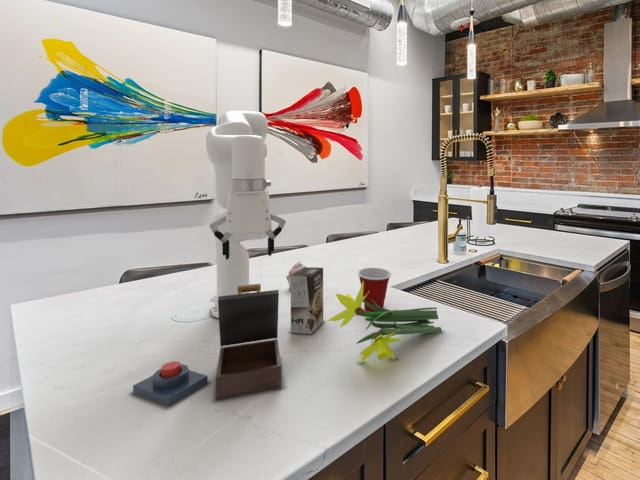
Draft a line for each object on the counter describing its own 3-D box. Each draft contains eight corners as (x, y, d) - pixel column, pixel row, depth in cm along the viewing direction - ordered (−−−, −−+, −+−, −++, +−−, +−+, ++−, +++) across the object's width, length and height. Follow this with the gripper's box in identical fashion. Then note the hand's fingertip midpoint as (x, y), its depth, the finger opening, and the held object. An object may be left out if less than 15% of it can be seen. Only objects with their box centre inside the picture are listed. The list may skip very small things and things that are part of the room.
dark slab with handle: (278, 293, 92) (277, 276, 96) (217, 300, 87) (219, 282, 92) (277, 338, 98) (276, 320, 102) (220, 346, 93) (221, 327, 98)
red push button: (157, 375, 85) (157, 367, 85) (173, 367, 88) (173, 359, 88) (168, 379, 83) (168, 371, 83) (184, 371, 86) (184, 363, 86)
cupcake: (308, 293, 145) (308, 265, 145) (282, 293, 145) (282, 265, 145) (314, 284, 154) (314, 258, 154) (290, 284, 155) (290, 258, 154)
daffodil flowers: (464, 344, 107) (370, 355, 82) (423, 360, 114) (324, 374, 89) (445, 282, 116) (355, 275, 91) (408, 300, 123) (314, 297, 98)
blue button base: (132, 393, 84) (132, 376, 84) (173, 372, 92) (173, 357, 92) (168, 407, 79) (168, 389, 79) (207, 383, 87) (207, 367, 87)
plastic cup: (378, 318, 122) (378, 278, 122) (350, 311, 128) (350, 273, 128) (398, 307, 131) (398, 270, 131) (371, 300, 137) (370, 265, 137)
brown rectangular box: (281, 388, 85) (281, 365, 85) (215, 401, 81) (215, 377, 81) (277, 358, 98) (277, 338, 98) (220, 368, 94) (220, 347, 94)
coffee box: (311, 334, 111) (311, 276, 111) (289, 332, 112) (289, 274, 112) (324, 321, 120) (324, 267, 120) (304, 319, 121) (303, 266, 121)
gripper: (284, 184, 105) (284, 249, 105) (210, 185, 99) (211, 255, 99) (286, 186, 98) (286, 257, 98) (207, 188, 92) (208, 263, 92)
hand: (248, 256), depth 99 cm, fingers open, 9 cm apart
